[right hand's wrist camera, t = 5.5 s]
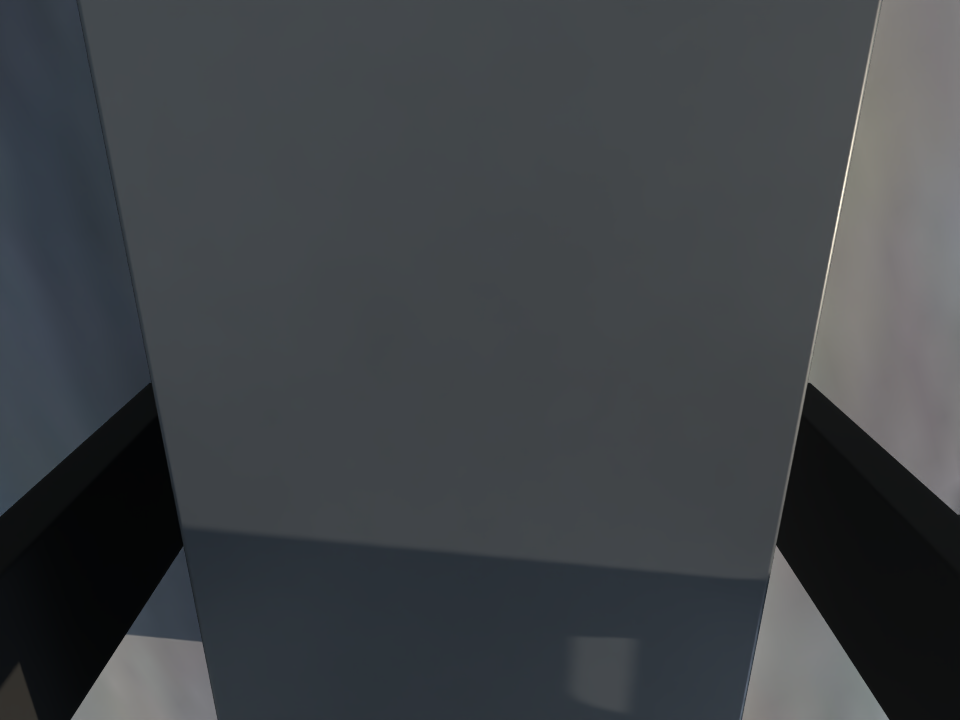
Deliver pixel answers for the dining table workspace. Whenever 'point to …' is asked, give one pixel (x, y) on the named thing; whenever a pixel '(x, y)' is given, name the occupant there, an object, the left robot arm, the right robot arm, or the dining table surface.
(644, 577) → the bar
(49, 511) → the right robot arm
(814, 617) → the dining table surface
